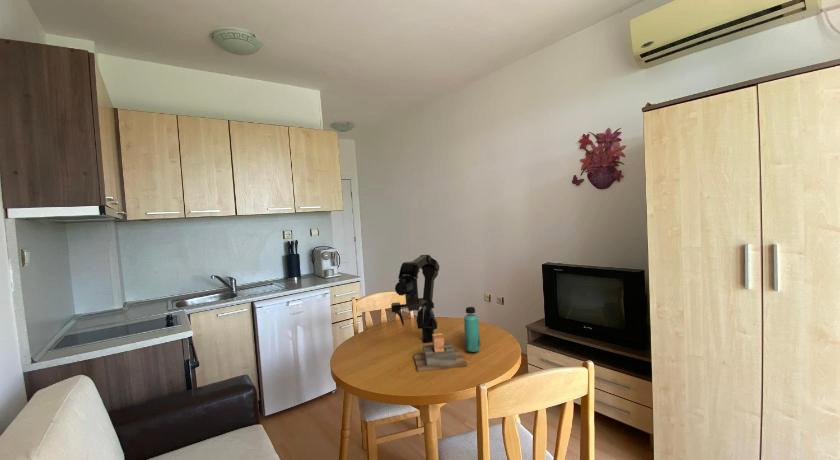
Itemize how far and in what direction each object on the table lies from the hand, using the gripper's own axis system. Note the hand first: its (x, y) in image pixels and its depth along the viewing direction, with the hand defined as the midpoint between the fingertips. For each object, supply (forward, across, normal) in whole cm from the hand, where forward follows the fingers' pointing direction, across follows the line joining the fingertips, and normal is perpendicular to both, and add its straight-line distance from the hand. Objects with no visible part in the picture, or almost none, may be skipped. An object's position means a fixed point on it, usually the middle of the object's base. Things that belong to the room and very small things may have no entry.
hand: (413, 324), depth 157 cm
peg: (+12, +9, -11) cm, 19 cm away
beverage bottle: (+13, +25, -6) cm, 29 cm away
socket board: (+13, +9, -11) cm, 19 cm away
